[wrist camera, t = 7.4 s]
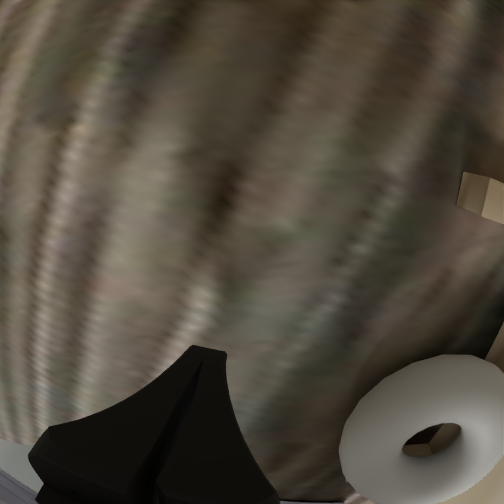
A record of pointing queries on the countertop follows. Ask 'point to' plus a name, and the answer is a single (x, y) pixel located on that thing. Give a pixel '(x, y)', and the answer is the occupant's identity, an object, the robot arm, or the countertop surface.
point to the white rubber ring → (419, 418)
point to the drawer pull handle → (500, 354)
